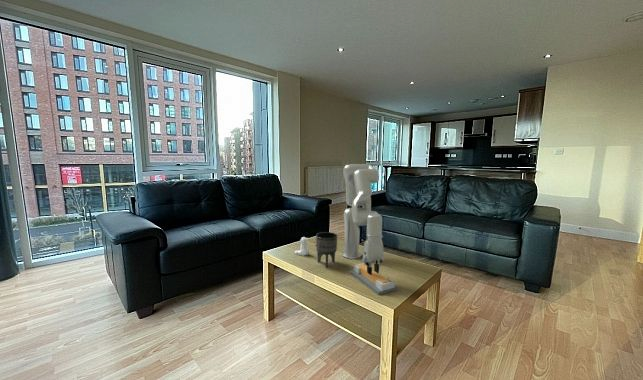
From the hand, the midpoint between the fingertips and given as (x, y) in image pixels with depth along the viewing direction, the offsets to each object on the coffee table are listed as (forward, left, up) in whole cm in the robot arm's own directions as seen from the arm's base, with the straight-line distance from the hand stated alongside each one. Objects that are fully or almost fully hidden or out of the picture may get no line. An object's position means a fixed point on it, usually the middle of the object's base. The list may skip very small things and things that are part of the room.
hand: (372, 272), depth 133 cm
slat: (0, 0, -3) cm, 3 cm away
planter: (-31, -12, -5) cm, 33 cm away
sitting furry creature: (-51, -19, -5) cm, 54 cm away
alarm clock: (-60, +2, -5) cm, 61 cm away
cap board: (-1, 0, -5) cm, 5 cm away
